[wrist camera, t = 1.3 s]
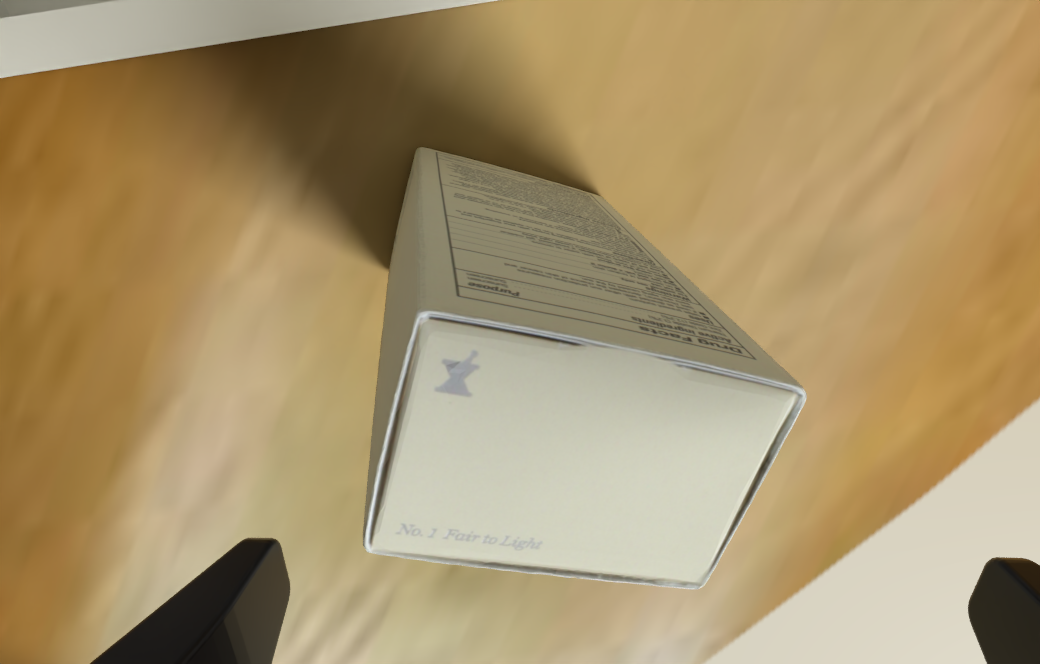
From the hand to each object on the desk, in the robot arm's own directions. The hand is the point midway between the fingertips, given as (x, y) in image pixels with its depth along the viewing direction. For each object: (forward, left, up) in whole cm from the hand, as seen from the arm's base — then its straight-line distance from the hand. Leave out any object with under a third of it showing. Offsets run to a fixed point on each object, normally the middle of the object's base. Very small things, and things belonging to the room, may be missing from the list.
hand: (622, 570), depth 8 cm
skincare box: (0, 0, -14) cm, 14 cm away
